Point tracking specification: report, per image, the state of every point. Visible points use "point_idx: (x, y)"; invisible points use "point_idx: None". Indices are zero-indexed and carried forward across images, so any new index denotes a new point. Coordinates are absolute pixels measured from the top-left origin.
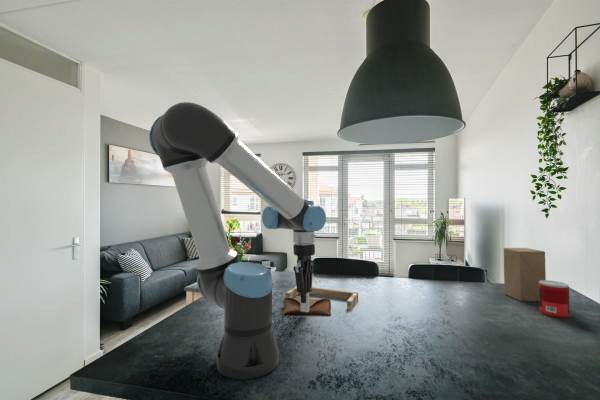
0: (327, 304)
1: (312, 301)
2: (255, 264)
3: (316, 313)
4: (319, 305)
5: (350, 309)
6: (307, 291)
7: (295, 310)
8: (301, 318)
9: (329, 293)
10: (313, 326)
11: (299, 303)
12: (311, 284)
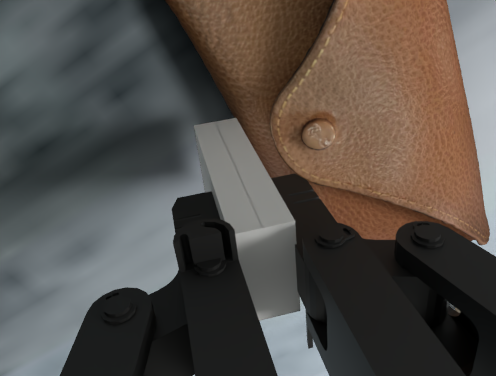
0: None
1: (385, 166)
2: None
3: None
4: (367, 216)
5: (456, 309)
6: (304, 295)
7: (206, 46)
8: (147, 144)
9: None
10: (75, 293)
11: (304, 57)
12: (447, 341)
